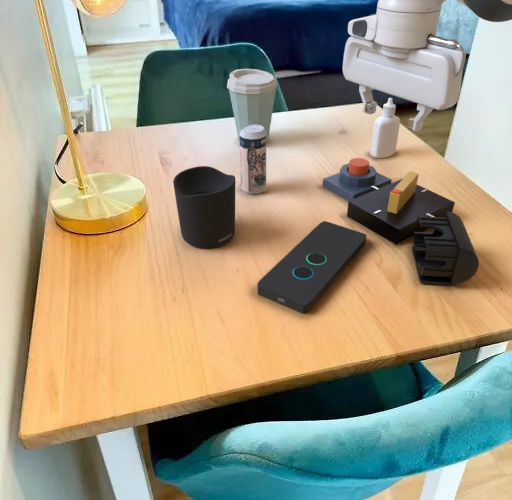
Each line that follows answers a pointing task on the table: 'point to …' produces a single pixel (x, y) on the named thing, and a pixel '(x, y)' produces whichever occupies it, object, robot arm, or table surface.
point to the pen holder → (205, 206)
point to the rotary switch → (404, 222)
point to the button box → (354, 183)
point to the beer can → (253, 158)
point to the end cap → (443, 251)
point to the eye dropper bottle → (385, 132)
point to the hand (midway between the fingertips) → (390, 121)
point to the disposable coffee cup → (252, 98)
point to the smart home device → (312, 266)
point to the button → (358, 166)
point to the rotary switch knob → (402, 192)
